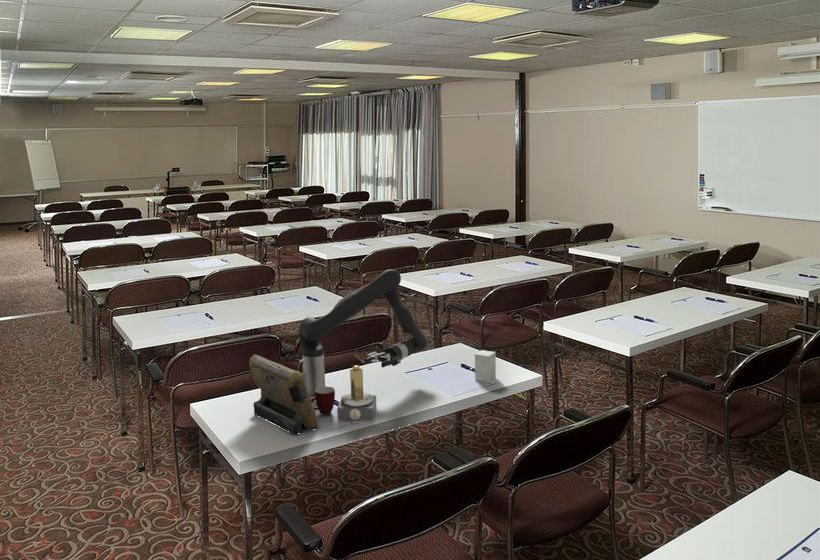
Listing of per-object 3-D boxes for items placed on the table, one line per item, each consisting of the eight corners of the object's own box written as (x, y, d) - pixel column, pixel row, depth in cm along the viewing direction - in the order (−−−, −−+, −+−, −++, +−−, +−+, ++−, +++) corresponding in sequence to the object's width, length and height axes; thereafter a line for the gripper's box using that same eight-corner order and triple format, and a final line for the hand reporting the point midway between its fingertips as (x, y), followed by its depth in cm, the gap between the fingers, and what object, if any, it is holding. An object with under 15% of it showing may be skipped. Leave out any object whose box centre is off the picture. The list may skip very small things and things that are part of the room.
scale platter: (338, 406, 267) (338, 404, 267) (343, 394, 280) (343, 392, 279) (371, 407, 266) (371, 404, 266) (374, 394, 279) (374, 392, 279)
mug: (316, 420, 268) (314, 396, 266) (306, 414, 274) (305, 390, 272) (339, 413, 274) (338, 390, 272) (329, 407, 280) (328, 385, 278)
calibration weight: (350, 400, 270) (349, 368, 268) (352, 396, 275) (350, 364, 273) (362, 400, 270) (361, 368, 268) (364, 396, 275) (363, 364, 272)
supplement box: (496, 378, 311) (496, 351, 309) (489, 383, 305) (489, 356, 303) (481, 375, 315) (481, 349, 313) (474, 380, 309) (474, 353, 307)
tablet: (325, 426, 262) (322, 364, 257) (297, 438, 252) (294, 374, 247) (273, 406, 283) (269, 348, 278) (245, 416, 273) (241, 357, 268)
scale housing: (337, 420, 267) (337, 408, 266) (343, 406, 281) (342, 395, 280) (372, 420, 266) (372, 408, 265) (376, 406, 280) (376, 395, 279)
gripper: (382, 342, 297) (359, 352, 284) (409, 347, 289) (387, 357, 276) (382, 358, 298) (360, 369, 285) (409, 364, 291) (387, 375, 277)
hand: (373, 363), depth 280 cm, fingers open, 8 cm apart
